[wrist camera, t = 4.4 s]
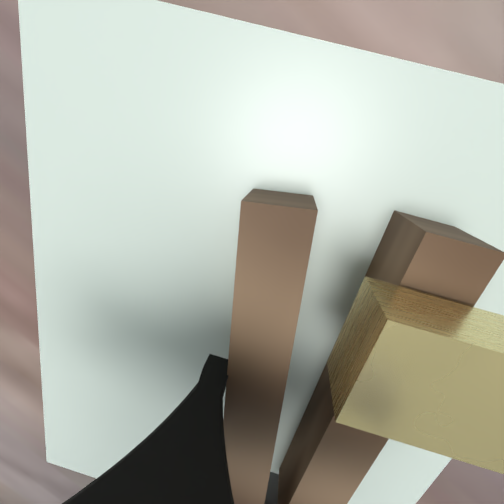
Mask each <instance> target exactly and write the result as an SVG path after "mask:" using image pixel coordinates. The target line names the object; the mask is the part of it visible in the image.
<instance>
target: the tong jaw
mask: <svg viewBox="0 0 504 504" xmlns="http://www.w3.org/2000/svg"><path fill="white" fill-rule="evenodd" d="M317 213H318V209H317V206H316V203H315V200H314V197H313V195H304V194H296V193H287V192H279V191H271V190H262V189H254V188H253V189H252V190H251V191H250V192H249V193H248V194H247V195H246V196H245V197H244V198H243V199H242V200H241V207H240V220H239V232H238V244H237V257H236V269H235V282H234V294H233V307H232V319H231V331H230V344H229V356H228V369H227V375H228V379H227V383H226V394H225V406H224V418H223V424H224V437H225V447H226V456H227V463H228V471H229V477H230V483H231V489H232V495H233V500H234V504H264V503H265V498H266V492H267V487H268V481H269V476H270V470H271V465H272V459H273V454H274V448H275V443H276V437H277V432H278V426H279V421H280V415H281V410H282V405H283V399H284V394H285V388H286V383H287V377H288V372H289V366H290V361H291V355H292V350H293V344H294V339H295V333H296V328H297V322H298V317H299V311H300V306H301V301H302V295H303V290H304V284H305V279H306V273H307V268H308V262H309V257H310V251H311V246H312V240H313V235H314V229H315V224H316V218H317Z"/></svg>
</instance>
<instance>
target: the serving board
mask: <svg viewBox="0 0 504 504" xmlns="http://www.w3.org/2000/svg"><path fill="white" fill-rule="evenodd" d="M18 6H19V22H20V38H21V54H22V70H23V87H24V103H25V119H26V135H27V151H28V167H29V183H30V200H31V216H32V232H33V248H34V264H35V280H36V296H37V313H38V329H39V345H40V361H41V377H42V393H43V409H44V426H45V442H46V458H47V462H49V463H52V464H55V465H58V466H61V467H64V468H67V469H70V470H73V471H76V472H79V473H82V474H85V475H88V476H91V477H94V478H98V477H99V476H101V475H102V474H103V473H105V472H106V471H107V470H108V469H110V468H111V467H112V466H114V465H115V464H116V463H117V462H118V461H120V460H121V459H122V458H123V457H125V456H126V455H127V454H128V453H129V452H130V451H131V450H133V449H134V448H135V447H136V446H137V445H138V444H140V443H141V442H142V441H143V440H144V439H145V438H146V437H147V436H148V435H149V434H151V433H152V432H153V431H154V430H155V429H156V428H157V427H158V426H159V425H160V424H161V423H162V422H163V421H164V420H165V419H166V418H167V417H168V416H169V415H170V414H171V413H172V412H173V411H174V410H175V408H176V407H177V406H178V405H179V404H180V403H181V402H182V401H183V400H184V399H185V398H186V396H187V395H188V394H189V393H190V392H191V390H192V389H193V388H194V387H195V385H196V384H197V383H198V382H199V378H200V375H201V372H202V369H203V366H204V364H205V362H206V360H207V358H208V356H209V354H212V355H216V356H219V357H222V358H226V359H228V356H229V344H230V331H231V319H232V307H233V294H234V282H235V269H236V257H237V244H238V232H239V220H240V207H241V200H242V199H243V198H244V197H245V196H246V195H247V194H248V193H249V192H250V191H251V190H252V189H253V188H254V189H262V190H271V191H279V192H287V193H296V194H304V195H313V197H314V200H315V203H316V206H317V209H318V213H317V218H316V224H315V229H314V235H313V240H312V246H311V251H310V257H309V262H308V268H307V273H306V279H305V284H304V290H303V295H302V301H301V306H300V311H299V317H298V322H297V328H296V333H295V339H294V344H293V350H292V355H291V361H290V366H289V372H288V377H287V383H286V388H285V394H284V399H283V405H282V410H281V415H280V421H279V426H278V432H277V437H276V443H275V448H274V454H273V459H272V465H271V470H270V472H274V473H276V474H279V468H280V466H281V464H282V462H283V459H284V457H285V455H286V453H287V450H288V448H289V446H290V444H291V441H292V439H293V437H294V435H295V432H296V430H297V428H298V426H299V423H300V421H301V419H302V417H303V414H304V412H305V410H306V408H307V405H308V403H309V401H310V399H311V396H312V394H313V392H314V390H315V387H316V385H317V383H318V381H319V378H320V376H321V374H322V372H323V369H324V367H325V365H326V363H327V360H328V358H329V356H330V354H331V351H332V349H333V347H334V345H335V342H336V340H337V338H338V336H339V333H340V331H341V329H342V327H343V324H344V322H345V320H346V318H347V315H348V313H349V311H350V309H351V306H352V304H353V302H354V300H355V297H356V295H357V293H358V291H359V288H360V286H361V284H362V282H363V279H364V277H365V275H366V273H367V270H368V268H369V266H370V264H371V261H372V259H373V257H374V255H375V252H376V250H377V248H378V246H379V243H380V241H381V239H382V237H383V234H384V232H385V230H386V228H387V225H388V223H389V221H390V219H391V216H392V214H393V212H394V210H395V211H399V212H402V213H406V214H410V215H414V216H417V217H421V218H425V219H429V220H432V221H436V222H440V223H443V224H447V225H451V226H455V227H457V228H459V229H461V230H462V231H464V232H466V233H468V234H470V235H472V236H474V237H476V238H478V239H480V240H482V241H484V242H486V243H488V244H490V245H492V246H494V247H495V248H497V249H499V250H501V251H503V252H504V84H502V83H497V82H493V81H489V80H485V79H481V78H477V77H473V76H468V75H464V74H460V73H456V72H452V71H448V70H444V69H439V68H435V67H431V66H427V65H423V64H419V63H414V62H410V61H406V60H402V59H398V58H394V57H390V56H385V55H381V54H377V53H373V52H369V51H365V50H361V49H356V48H352V47H348V46H344V45H340V44H336V43H331V42H327V41H323V40H319V39H315V38H311V37H307V36H302V35H298V34H294V33H290V32H286V31H282V30H278V29H273V28H269V27H265V26H261V25H257V24H253V23H248V22H244V21H240V20H236V19H232V18H228V17H224V16H219V15H215V14H211V13H207V12H203V11H199V10H195V9H190V8H186V7H182V6H178V5H174V4H170V3H165V2H161V1H157V0H18ZM474 307H475V308H479V309H483V310H486V311H490V312H493V313H497V314H500V315H504V260H503V262H502V263H501V265H500V266H499V268H498V269H497V271H496V273H495V274H494V276H493V277H492V279H491V280H490V282H489V284H488V285H487V287H486V288H485V290H484V291H483V293H482V294H481V296H480V298H479V299H478V301H477V302H476V304H475V305H474ZM225 394H226V388H225V392H224V396H223V418H224V406H225ZM451 459H452V458H450V457H447V456H444V455H440V454H437V453H434V452H431V451H427V450H424V449H421V448H418V447H414V446H411V445H408V444H405V443H402V442H398V441H395V440H392V439H388V441H387V443H386V444H385V446H384V447H383V449H382V450H381V452H380V453H379V455H378V457H377V458H376V460H375V461H374V463H373V464H372V466H371V467H370V469H369V471H368V472H367V474H366V475H365V477H364V478H363V480H362V482H361V483H360V485H359V486H358V488H357V489H356V491H355V492H354V494H353V496H352V497H351V499H350V500H349V502H348V503H347V504H416V502H417V501H418V500H419V499H420V498H421V496H422V495H423V494H424V493H425V491H426V490H427V489H428V488H429V486H430V485H431V484H432V483H433V481H434V480H435V479H436V478H437V476H438V475H439V474H440V473H441V471H442V470H443V469H444V468H445V466H446V465H447V464H448V463H449V461H450V460H451Z"/></svg>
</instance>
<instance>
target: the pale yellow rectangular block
mask: <svg viewBox="0 0 504 504" xmlns="http://www.w3.org/2000/svg"><path fill="white" fill-rule="evenodd" d="M327 366H328V373H329V380H330V387H331V394H332V402H333V409H334V416H335V422H337V423H340V424H343V425H347V426H350V427H353V428H356V429H360V430H363V431H366V432H369V433H372V434H376V435H379V436H382V437H385V438H389V439H392V440H395V441H398V442H402V443H405V444H408V445H411V446H414V447H418V448H421V449H424V450H427V451H431V452H434V453H437V454H440V455H444V456H447V457H450V458H453V459H456V460H460V461H463V462H466V463H469V464H473V465H476V466H479V467H482V468H486V469H489V470H492V471H495V472H498V473H502V474H504V315H500V314H497V313H493V312H490V311H486V310H483V309H479V308H475V307H472V306H468V305H465V304H461V303H458V302H454V301H451V300H447V299H443V298H440V297H436V296H433V295H429V294H426V293H422V292H419V291H415V290H412V289H408V288H404V287H401V286H397V285H394V284H390V283H387V282H383V281H380V280H376V279H372V278H369V277H365V278H364V280H363V282H362V285H361V287H360V289H359V291H358V294H357V296H356V298H355V300H354V303H353V305H352V307H351V309H350V312H349V314H348V316H347V318H346V321H345V323H344V325H343V327H342V330H341V332H340V334H339V336H338V339H337V341H336V343H335V345H334V348H333V350H332V352H331V354H330V357H329V359H328V361H327Z"/></svg>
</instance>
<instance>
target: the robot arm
mask: <svg viewBox="0 0 504 504" xmlns="http://www.w3.org/2000/svg"><path fill="white" fill-rule="evenodd" d="M227 369H228V359H226V358H222V357H219V356H216V355H212V354H209V356H208V358H207V360H206V362H205V364H204V366H203V369H202V372H201V375H200V378H199V382H198V383H197V384H196V385H195V387H194V388H193V389H192V390H191V392H190V393H189V394H188V395H187V396H186V398H185V399H184V400H183V401H182V402H181V403H180V404H179V405H178V406H177V407H176V408H175V410H174V411H173V412H172V413H171V414H170V415H169V416H168V417H167V418H166V419H165V420H164V421H163V422H162V423H161V424H160V425H159V426H158V427H157V428H156V429H155V430H154V431H153V432H152V433H151V434H149V435H148V436H147V437H146V438H145V439H144V440H143V441H142V442H141V443H140V444H138V445H137V446H136V447H135V448H134V449H133V450H131V451H130V452H129V453H128V454H127V455H126V456H125V457H123V458H122V459H121V460H120V461H118V462H117V463H116V464H115V465H114V466H112V467H111V468H110V469H108V470H107V471H106V472H105V473H103V474H102V475H101V476H99V477H98V478H97V479H95V480H94V481H93V482H91V483H90V484H89V485H87V486H86V487H85V488H83V489H82V490H81V491H79V492H78V493H77V494H75V495H74V496H73V497H71V498H70V499H68V500H67V501H65V502H64V503H62V504H234V500H233V495H232V489H231V483H230V477H229V471H228V463H227V456H226V447H225V437H224V424H223V396H224V392H225V388H226V383H227V379H228V375H227Z"/></svg>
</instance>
